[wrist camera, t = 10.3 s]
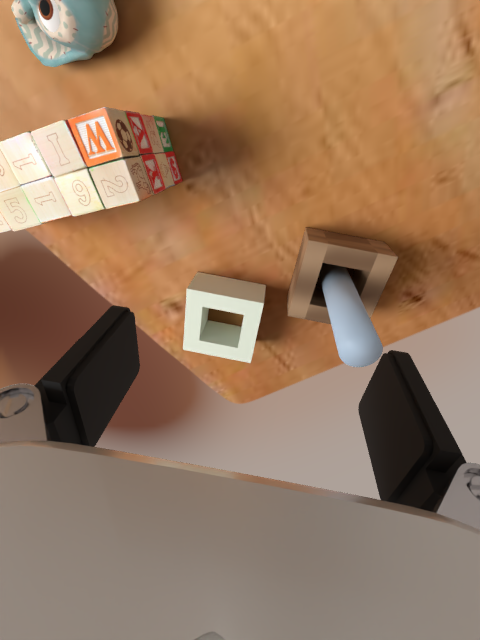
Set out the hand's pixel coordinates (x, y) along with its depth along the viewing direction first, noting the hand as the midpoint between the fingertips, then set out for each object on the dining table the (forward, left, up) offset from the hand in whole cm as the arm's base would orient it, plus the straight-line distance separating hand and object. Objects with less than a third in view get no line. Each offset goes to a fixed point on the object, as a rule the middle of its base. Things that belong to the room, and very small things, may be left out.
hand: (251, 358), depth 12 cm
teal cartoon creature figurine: (-14, -22, -27) cm, 38 cm away
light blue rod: (+6, +8, -27) cm, 28 cm away
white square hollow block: (+14, -3, -27) cm, 30 cm away
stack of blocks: (0, -21, -27) cm, 34 cm away
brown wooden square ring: (+6, +9, -27) cm, 28 cm away
